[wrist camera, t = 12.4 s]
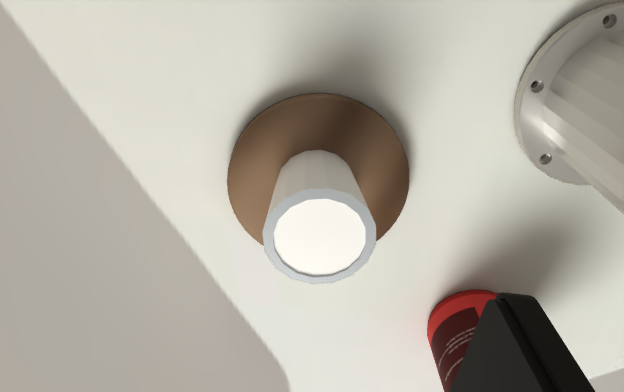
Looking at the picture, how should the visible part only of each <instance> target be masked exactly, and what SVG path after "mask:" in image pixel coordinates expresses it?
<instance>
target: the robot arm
mask: <svg viewBox="0 0 624 392" xmlns="http://www.w3.org/2000/svg"><path fill="white" fill-rule="evenodd" d="M605 17H606V18H605ZM604 18H605V20H604V22H603V19H604ZM534 81H535V84H534V85H532V86H531V84H532V83H533V82H534ZM513 119H514V126H515V133H516V136H517V139H518V141H519V144H520V146H521V148H522V150H523V151H524V153H525V154H526V155H527V157H528V158H529V160H530V161H531V162H532V163H533V164H534V165H535V166H536V167H537V168H538V169H540V170H541V171H543V172H544V173H545V174H547V175H548V176H550V177H552V178H554V179H557V180H559V181H562V182H564V183H570V184H575V185H592V186H593V187H594V188H595V189H596V190H597V191H598V192H600V193H601V194H602V195H603V196H604V197H605V198H606V199H607V200H608V201H610V202H611V203H612V204H613V205H614V206H615V207H616V208H617V209H618V210H620V211H621V212H622V213H623V214H624V2H618V3H613V4H607V5H604V6H601V7H599V8H596V9H593V10H591V11H588V12H586V13H584V14H582V15H581V16H579V17H577V18H575V19H574V20H572V21H570V22H568V23H567V24H566V25H565V26H563V27H562V28H561V29H560V30H558V31H557V32H556V33H555V34H553V35H552V36H551V37H550V38H549V39H548V40H547V42H546V43H545V44H544V45H543V46H542V47H541V48H540V49H539V50H538V52H537V53H536V55H535V56H534V57H533V59H532V60H531V62H530V63H529V65H528V66H527V68H526V70H525V73H524V75H523V77H522V79H521V81H520V83H519V86H518V90H517V94H516V98H515V102H514V117H513ZM449 392H595V390H594V389H593V387H592V386H591V384H590V383H589V381H588V379H587V378H586V376H585V375H584V373H583V372H582V370H581V369H580V367H579V365H578V364H577V362H576V361H575V359H574V358H573V356H572V354H571V353H570V351H569V350H568V348H567V347H566V345H565V343H564V342H563V340H562V339H561V337H560V336H559V334H558V332H557V331H556V329H555V328H554V326H553V325H552V323H551V321H550V320H549V318H548V317H547V315H546V314H545V312H544V311H543V309H542V307H541V306H540V304H539V303H538V301H537V300H536V299H535V298H534V297H532V296H529V295H520V294H511V293H499V294H498V295H497V296H496V298H495V299H490V300H488V301H487V302H486V304H485V306H484V309H483V311H482V314H481V316H480V318H479V321H478V323H477V326H476V328H475V331H474V333H473V335H472V338H471V340H470V343H469V345H468V347H467V350H466V352H465V355H464V357H463V360H462V362H461V364H460V367H459V369H458V372H457V374H456V377H455V379H454V381H453V384H452V386H451V389H450V391H449Z"/></svg>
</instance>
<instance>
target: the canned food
mask: <svg viewBox="0 0 624 392" xmlns="http://www.w3.org/2000/svg"><path fill="white" fill-rule="evenodd" d="M497 295H498V294H496V293H493V292H489V291H485V290H468V291H464V292H460V293H457V294H454V295H452V296H450V297H448V298H446V299H444V300H443V301H442V302H441V303H439V304H438V305H437V306H436V307H435V309H434V310H433V311H432V313H431V315H430V317H429V321H428V328H427V336H428V340H429V344H430V347H431V350H432V353H433V357H434V360H435V363H436V366H437V369H438V373H439V376H440V379H441V382H442V386H443V389H444V392H449V391H450V389H451V386H452V384H453V381H454V379H455V377H456V374H457V372H458V369H459V367H460V364H461V362H462V360H463V357H464V355H465V352H466V350H467V347H468V345H469V343H470V340H471V338H472V335H473V333H474V331H475V328H476V326H477V323H478V321H479V318H480V316H481V314H482V311H483V309H484V306H485V304H486V302H487V301H488V300H490V299H495V298H496V296H497Z"/></svg>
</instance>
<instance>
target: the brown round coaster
mask: <svg viewBox="0 0 624 392" xmlns="http://www.w3.org/2000/svg"><path fill="white" fill-rule="evenodd" d="M312 150H324V151H327V152H330V153H333V154H336V155H338V156H339V157H340V158H341V159H343V160H344V161H345V162H346V163H347V164H348V165H349V167H350V169H351V171H352V173H353V175H354V177H355V179H356V182H357V184H358V186H359V188H360V191H361V193H362V195H363V197H364V200H365V202H366V204H367V206H368V209H369V211H370V213H371V215H372V217H373V220H374V222H375V224H376V241H377V240H379V239H380V238H381V237H382V236H383V235H384V234H385V233H386V232H387V231H388V230H389V229H390V228H391V227H392V225H393V224H394V223H395V222H396V220H397V218H398V217H399V215H400V213H401V211H402V209H403V207H404V204H405V202H406V198H407V194H408V189H409V168H408V162H407V158H406V155H405V152H404V149H403V147H402V145H401V143H400V141H399V139H398V137H397V135H396V133H395V132H394V130H393V129H392V128H391V126H390V125H389V124H388V123H387V122H386V121H385V120H384V118H383V117H382V116H381V115H379V114H378V113H377V112H375V111H374V110H373V109H371V108H370V107H368V106H366V105H365V104H363V103H361V102H359V101H356V100H354V99H351V98H348V97H345V96H341V95H336V94H328V93H311V94H303V95H298V96H294V97H290V98H287V99H285V100H282V101H280V102H277V103H275V104H274V105H272V106H270V107H268V108H267V109H265V110H264V111H263V112H261V113H260V114H259V115H257V116H256V117H255V118H254V119H253V120H252V121H251V122H250V123H249V124H248V125H247V127H246V128H245V129H244V131H243V132H242V133H241V135H240V137H239V139H238V140H237V142H236V145H235V147H234V150H233V152H232V156H231V160H230V164H229V168H228V177H227V186H228V195H229V199H230V203H231V206H232V208H233V211H234V213H235V215H236V217H237V219H238V220H239V222H240V223H241V225H242V226H243V227H244V229H245V230H246V231H247V232H248V233H249V234H250V235H251V236H252V237H253V238H254V239H255V240H256V241H258V242H259V243H260V244H262V245H263V246H264V242H263V234H262V232H263V228H264V225H265V221H266V218H267V214H268V210H269V207H270V203H271V200H272V196H273V192H274V189H275V185H276V182H277V179H278V176H279V173H280V170H281V168H282V167H283V166H284V165H285V164H286V163H287V162H288V161H289V159H290V158H291V157H293V156H296V155H298V154H300V153H302V152H304V151H312Z"/></svg>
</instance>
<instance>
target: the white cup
mask: <svg viewBox="0 0 624 392" xmlns="http://www.w3.org/2000/svg"><path fill="white" fill-rule="evenodd" d="M262 234H263V242H264V251H265V253H266V254H267V256H268V257H269V259H270V261H271V262H272V264H273V265H274V267H275V268H276V269H278V270H279V271H281V272H282V273H284V274H285V275H287V276H288V277H289V278H291V279H294V280H298V281H301V282H305V283H309V284H323V283H334V282H336V281H339V280H341V279H344V278H346V277H349V276H351V275H353V274H354V273H355V272H357V271H358V270H359V269H360V268H361V267H362V266H363V265H364V264H366V263H367V262H368V260H369V258H370V256H371V254H372V252H373V250H374V248H375V245H376V224H375V222H374V220H373V217H372V215H371V213H370V211H369V209H368V206H367V204H366V202H365V200H364V197H363V195H362V193H361V191H360V188H359V186H358V184H357V182H356V179H355V177H354V175H353V173H352V171H351V169H350V167H349V165H348V164H347V163H346V162H345V161H344V160H343V159H341V158H340V157H339V156H338V155H336V154H333V153H330V152H327V151H324V150H312V151H304V152H302V153H300V154H298V155H296V156H293V157H291V158H290V159H289V161H288V162H287V163H286V164H285V165H284V166H283V167H282V168H281V170H280V173H279V176H278V179H277V182H276V185H275V189H274V192H273V196H272V200H271V203H270V207H269V210H268V214H267V218H266V221H265V225H264V228H263V232H262Z"/></svg>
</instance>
